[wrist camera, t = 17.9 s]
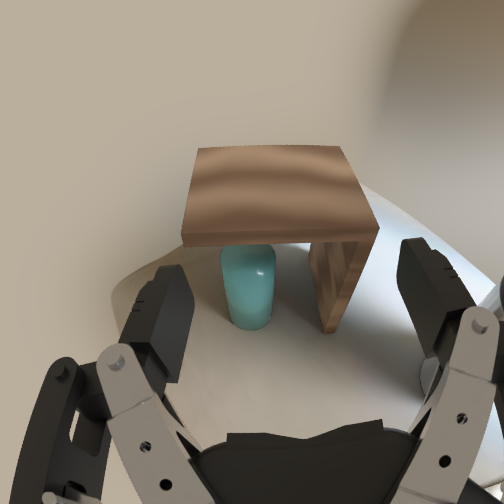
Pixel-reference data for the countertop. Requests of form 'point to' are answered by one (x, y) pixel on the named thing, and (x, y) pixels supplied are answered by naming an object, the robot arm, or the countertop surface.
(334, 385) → the countertop surface
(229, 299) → the teal rounded cylinder
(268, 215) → the shelf
